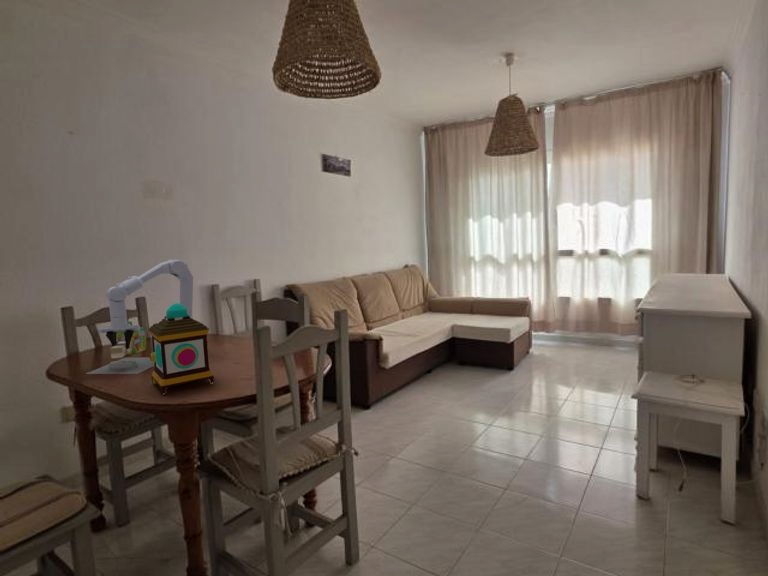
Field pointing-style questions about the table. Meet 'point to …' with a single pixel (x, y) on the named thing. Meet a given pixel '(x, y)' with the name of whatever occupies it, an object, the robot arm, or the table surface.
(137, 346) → the chalk box
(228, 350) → the table surface
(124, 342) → the beam
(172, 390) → the table surface
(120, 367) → the fulcrum
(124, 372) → the mat
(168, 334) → the decorative lantern
